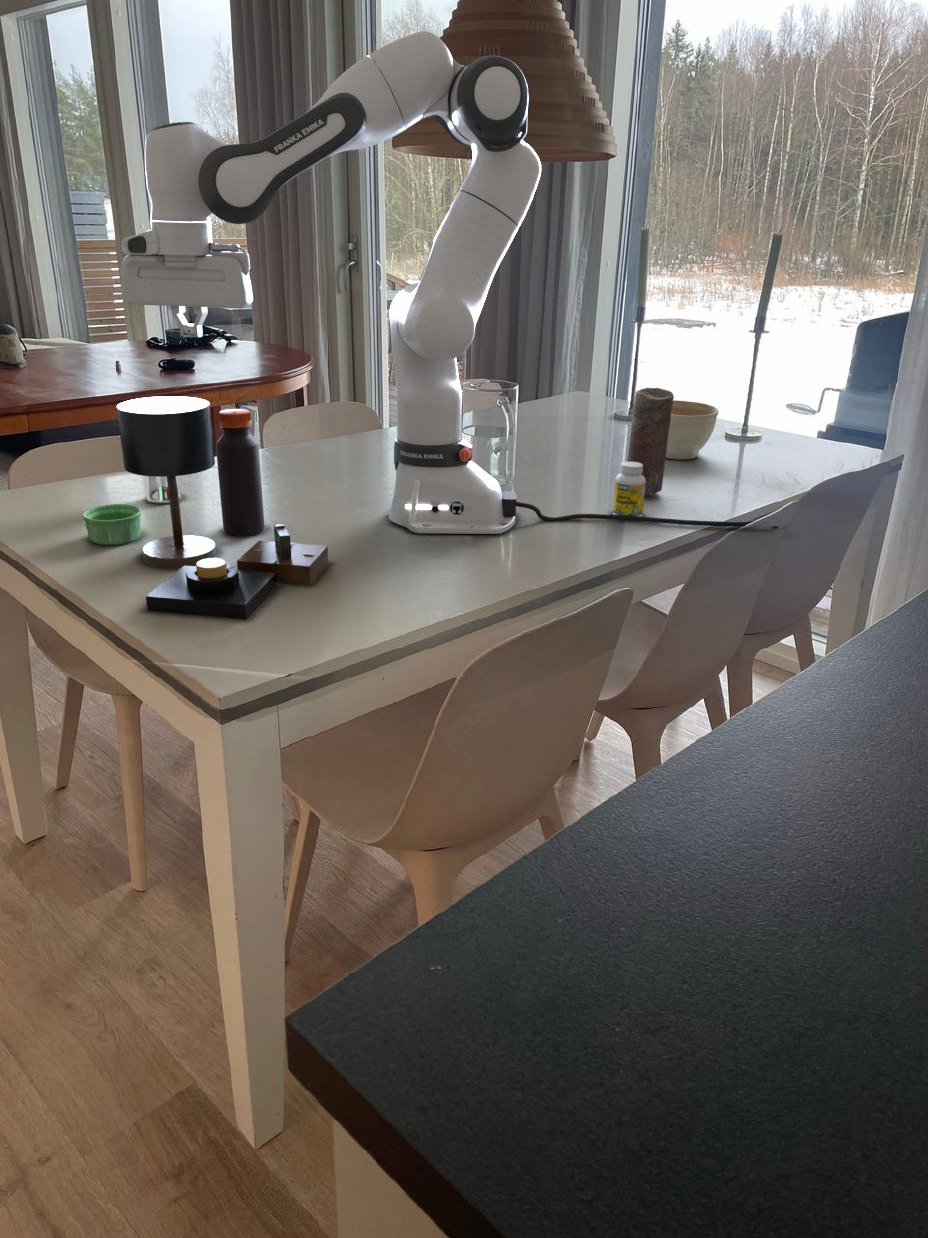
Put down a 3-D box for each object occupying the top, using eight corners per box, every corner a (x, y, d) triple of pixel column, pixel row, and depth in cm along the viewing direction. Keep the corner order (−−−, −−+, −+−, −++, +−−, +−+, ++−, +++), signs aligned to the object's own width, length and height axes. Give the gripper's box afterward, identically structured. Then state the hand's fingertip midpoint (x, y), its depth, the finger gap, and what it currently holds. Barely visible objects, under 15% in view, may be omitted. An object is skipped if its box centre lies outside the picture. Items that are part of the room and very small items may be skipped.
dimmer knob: (291, 557, 137) (290, 533, 135) (281, 558, 136) (279, 534, 135) (285, 546, 141) (283, 523, 139) (275, 547, 140) (273, 524, 139)
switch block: (277, 586, 134) (275, 560, 133) (246, 620, 123) (244, 592, 122) (185, 579, 136) (182, 553, 135) (147, 611, 125) (143, 583, 124)
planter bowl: (627, 455, 211) (631, 406, 206) (662, 443, 222) (667, 397, 218) (690, 468, 201) (697, 417, 197) (724, 455, 213) (731, 407, 208)
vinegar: (270, 532, 156) (262, 413, 148) (231, 539, 153) (220, 417, 145) (256, 521, 161) (247, 405, 153) (218, 527, 158) (207, 409, 150)
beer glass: (172, 505, 169) (163, 423, 163) (137, 502, 170) (127, 420, 164) (190, 495, 175) (182, 415, 169) (156, 492, 176) (147, 413, 170)
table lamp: (235, 545, 150) (223, 398, 140) (202, 574, 138) (186, 415, 129) (160, 539, 152) (142, 394, 142) (120, 567, 140) (99, 410, 130)
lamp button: (231, 570, 130) (230, 558, 129) (220, 580, 126) (219, 568, 126) (204, 568, 130) (203, 556, 130) (192, 578, 127) (191, 566, 126)
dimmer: (328, 564, 143) (327, 544, 142) (310, 585, 135) (309, 565, 134) (260, 558, 145) (259, 539, 143) (238, 579, 136) (236, 559, 135)
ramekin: (89, 549, 147) (85, 523, 145) (83, 532, 154) (80, 507, 152) (147, 542, 150) (144, 516, 149) (140, 526, 158) (137, 501, 156)
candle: (666, 492, 184) (678, 389, 176) (657, 501, 178) (668, 395, 169) (628, 486, 187) (638, 385, 178) (618, 496, 180) (628, 391, 172)
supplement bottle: (643, 513, 171) (649, 461, 167) (640, 521, 166) (645, 469, 162) (614, 510, 172) (619, 459, 168) (609, 518, 167) (614, 466, 163)
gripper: (255, 243, 143) (261, 336, 148) (131, 239, 146) (141, 331, 151) (240, 244, 137) (247, 341, 143) (110, 240, 140) (122, 336, 146)
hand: (191, 336), depth 147 cm, fingers closed
